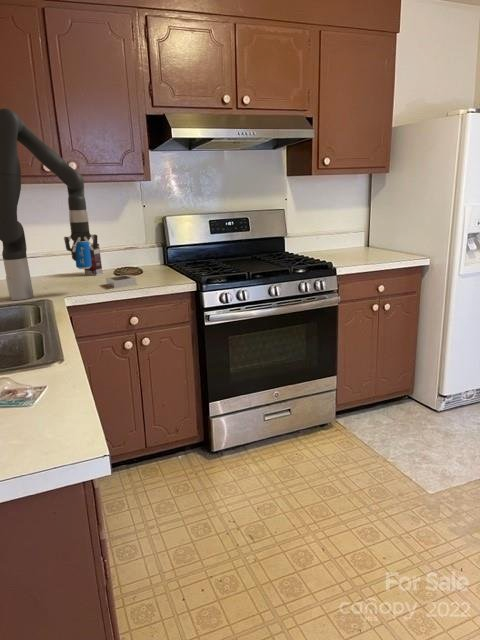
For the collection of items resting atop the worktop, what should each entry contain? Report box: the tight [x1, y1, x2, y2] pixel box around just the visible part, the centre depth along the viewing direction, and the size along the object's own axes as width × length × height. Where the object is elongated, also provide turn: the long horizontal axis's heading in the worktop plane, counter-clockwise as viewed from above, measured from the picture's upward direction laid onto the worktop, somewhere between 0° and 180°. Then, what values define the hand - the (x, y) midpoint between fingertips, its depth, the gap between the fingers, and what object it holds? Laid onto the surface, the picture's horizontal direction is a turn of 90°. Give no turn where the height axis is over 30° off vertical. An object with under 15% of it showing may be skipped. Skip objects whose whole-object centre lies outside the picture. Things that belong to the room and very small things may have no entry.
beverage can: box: [73, 241, 92, 270], centre depth 208 cm, size 6×6×12 cm
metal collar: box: [105, 274, 138, 289], centre depth 219 cm, size 10×10×3 cm
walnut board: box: [99, 284, 114, 291], centre depth 219 cm, size 15×10×1 cm, turn 124°
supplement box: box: [83, 242, 103, 276], centre depth 248 cm, size 9×5×16 cm, turn 60°
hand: (83, 259), depth 209 cm, fingers closed on beverage can, 6 cm apart
